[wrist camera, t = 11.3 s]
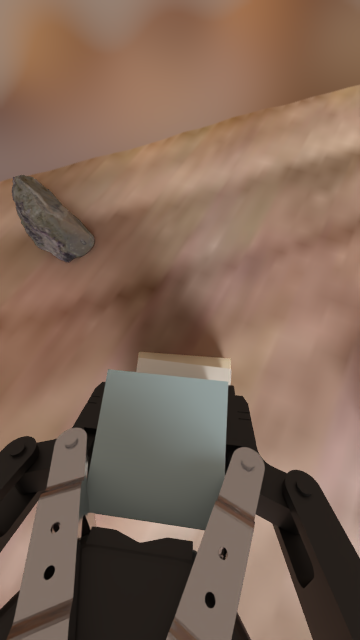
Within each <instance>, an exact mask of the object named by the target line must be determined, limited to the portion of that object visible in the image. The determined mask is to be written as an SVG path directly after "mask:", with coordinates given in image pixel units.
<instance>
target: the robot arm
mask: <svg viewBox="0 0 360 640" xmlns="http://www.w3.org/2000/svg"><path fill="white" fill-rule="evenodd" d="M105 383H106V382H102V383H101V384H100V385H99V386H97V387H96V388H95V390H94V392H93V393H92V395H91V397H90V398H89V400H88V403H86V405H85V407H84V409H83V410H82V412H81V414H80V415H79V417H78V419H77V421H76V422H75V424H74V426H73V427H72V428H71V429H69V430H67V431H65V432H63V433H62V434H61V435H60V436H59V437H58V438H57V439H54V440H49V441H44V442H39V443H36V441H35V439H34V438H32V437H29V436H25V437H20V438H18V439H16V440H14V441H12V442H11V443H9V444H8V445H7V446H6V447H5V448H4V449H3V450H2V451H1V452H0V552H1V551H2V549H3V548H4V547H5V545H6V544H7V543H8V541H9V540H10V538H11V537H12V536H13V534H14V533H15V532H16V530H17V529H18V527H19V526H20V525H21V523H22V522H23V521H24V519H25V518H26V516H27V515H28V514H29V512H30V511H31V510H32V508H33V507H34V505H35V504H36V503H37V501H38V500H39V501H38V505H37V510H36V515H35V520H34V525H33V529H32V534H31V539H30V544H29V549H28V554H27V559H26V563H25V568H24V573H23V578H22V583H21V588H20V590H19V591H18V592H17V593H16V594H15V595H14V596H13V597H12V598H11V599H10V600H9V601H8V602H7V603H6V604H5V605H4V606H3V607H2V608H1V609H0V640H251V639H250V637H249V635H248V633H247V631H246V629H245V627H244V625H243V623H242V621H241V619H240V617H239V615H238V613H237V609H238V605H239V600H240V595H241V590H242V585H243V580H244V575H245V570H246V565H247V560H248V556H249V551H250V546H251V541H252V536H253V531H254V525H255V522H254V519H255V514H256V515H258V516H260V517H262V518H264V519H265V520H267V521H269V522H271V523H272V524H273V526H274V529H275V532H276V535H277V538H278V541H279V544H280V547H281V549H282V552H283V555H284V558H285V561H286V564H287V567H288V570H289V572H290V575H291V578H292V581H293V584H294V587H295V590H296V592H297V595H298V598H299V601H300V604H301V607H302V610H303V613H304V615H305V618H306V621H307V624H308V627H309V630H310V633H311V635H312V638H313V640H360V558H359V556H358V554H357V553H356V551H355V549H354V547H353V545H352V544H351V542H350V540H349V538H348V536H347V535H346V533H345V531H344V529H343V527H342V526H341V524H340V522H339V520H338V519H337V517H336V515H335V513H334V511H333V510H332V508H331V506H330V504H329V502H328V501H327V499H326V497H325V495H324V493H323V492H322V490H321V488H320V486H319V485H318V483H317V482H316V481H315V480H314V479H313V478H312V477H311V476H310V475H308V474H307V473H305V472H303V471H300V470H292V471H290V472H288V473H285V472H283V471H281V470H278V469H276V468H274V467H272V466H270V465H269V464H267V463H266V462H265V461H264V460H263V459H262V457H261V456H260V454H259V453H258V450H257V446H256V441H255V436H254V431H253V427H252V422H251V417H250V412H249V407H248V403H247V402H246V400H245V399H244V397H243V396H236V395H235V391H234V386H232V385H228V403H227V428H226V453H225V478H224V481H223V484H222V487H221V490H220V493H219V495H218V498H217V499H216V502H215V504H214V507H213V510H212V512H211V515H210V518H209V521H208V524H207V527H206V530H205V532H204V535H203V538H202V541H201V544H200V547H199V549H198V552H197V551H195V550H193V541H186V540H179V539H173V538H163V539H158V540H153V541H148V542H143V543H139V542H137V541H135V540H133V539H131V538H130V537H128V536H126V535H124V534H122V533H121V532H119V531H117V530H113V529H107V528H100V527H96V518H95V513H90V512H89V498H88V494H87V480H88V474H89V469H90V463H91V458H92V453H93V447H94V442H95V437H96V431H97V426H98V421H99V415H100V410H101V405H102V399H103V394H104V389H105Z"/></svg>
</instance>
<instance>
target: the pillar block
mask: <svg viewBox="0 0 360 640" xmlns="http://www.w3.org/2000/svg"><path fill="white" fill-rule="evenodd" d="M227 403H228V382H226V381H216V380H207V379H197V378H187V377H177V376H168V375H158V374H148V373H139V372H129V371H119V370H109V369H108V373H107V378H106V383H105V389H104V394H103V399H102V405H101V410H100V415H99V421H98V426H97V431H96V437H95V442H94V447H93V453H92V458H91V463H90V469H89V474H88V480H87V494H88V498H89V512H90V513H96V514H102V515H109V516H115V517H122V518H128V519H135V520H141V521H148V522H155V523H161V524H168V525H174V526H181V527H187V528H194V529H200V530H206V527H207V524H208V521H209V518H210V515H211V512H212V510H213V507H214V504H215V502H216V499H217V498H218V495H219V493H220V490H221V487H222V484H223V481H224V478H225V453H226V428H227Z"/></svg>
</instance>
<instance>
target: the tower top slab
mask: <svg viewBox="0 0 360 640" xmlns="http://www.w3.org/2000/svg"><path fill="white" fill-rule="evenodd" d="M136 372H139V373H148V374H158V375H168V376H177V377H187V378H197V379H207V380H216V381H226V382H228V385H230V384H231V369H227V368H219V367H211V366H203V365H195V364H187V363H179V362H171V361H163V360H155V359H147V358H138V363H137V369H136Z"/></svg>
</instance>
